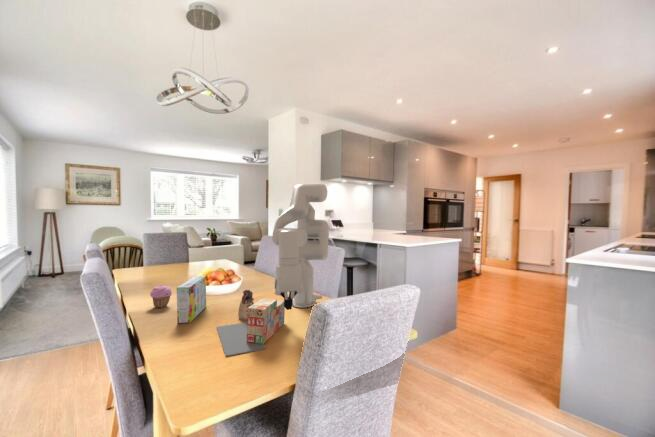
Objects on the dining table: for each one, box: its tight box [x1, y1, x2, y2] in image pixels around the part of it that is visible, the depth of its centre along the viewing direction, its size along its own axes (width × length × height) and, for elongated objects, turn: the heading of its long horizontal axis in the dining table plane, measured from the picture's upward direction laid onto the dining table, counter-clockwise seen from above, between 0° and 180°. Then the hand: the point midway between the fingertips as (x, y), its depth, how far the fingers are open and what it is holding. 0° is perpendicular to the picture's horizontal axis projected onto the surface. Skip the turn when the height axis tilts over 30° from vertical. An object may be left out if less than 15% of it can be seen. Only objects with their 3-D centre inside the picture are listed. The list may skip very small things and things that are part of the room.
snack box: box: [176, 275, 207, 324], centre depth 132 cm, size 21×6×15 cm, turn 5°
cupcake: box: [149, 285, 173, 309], centre depth 143 cm, size 9×9×10 cm
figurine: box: [238, 289, 255, 321], centre depth 130 cm, size 7×7×12 cm
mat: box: [216, 321, 266, 358], centre depth 109 cm, size 13×26×1 cm, turn 26°
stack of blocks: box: [246, 297, 286, 345], centre depth 114 cm, size 21×6×12 cm, turn 168°
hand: (288, 308), depth 117 cm, fingers closed
